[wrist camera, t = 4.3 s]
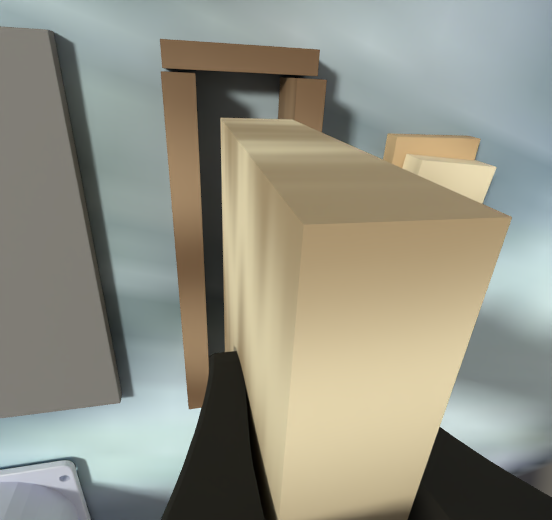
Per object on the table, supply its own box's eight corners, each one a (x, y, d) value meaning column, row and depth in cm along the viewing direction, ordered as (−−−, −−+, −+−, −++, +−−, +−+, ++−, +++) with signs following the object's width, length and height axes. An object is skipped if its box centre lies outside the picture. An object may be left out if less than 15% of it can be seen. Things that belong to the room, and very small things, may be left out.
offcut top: (422, 309, 20) (435, 322, 19) (362, 311, 19) (373, 325, 18) (476, 160, 17) (496, 167, 16) (406, 153, 16) (422, 160, 15)
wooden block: (274, 421, 16) (345, 699, 9) (226, 427, 15) (261, 726, 8) (292, 119, 10) (512, 217, 3) (220, 117, 10) (303, 225, 3)
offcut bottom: (412, 310, 22) (426, 325, 21) (348, 315, 21) (359, 331, 20) (458, 133, 17) (480, 138, 16) (380, 131, 17) (397, 136, 15)
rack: (284, 372, 21) (295, 407, 19) (189, 384, 20) (189, 422, 18) (307, 51, 14) (329, 47, 12) (162, 42, 13) (158, 36, 11)
